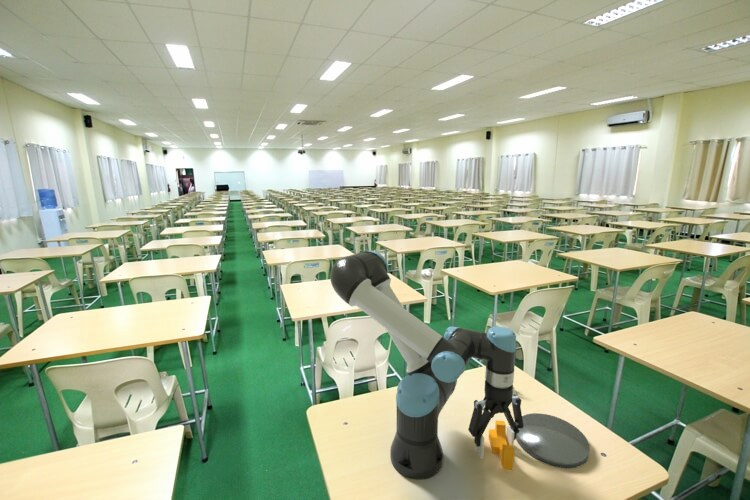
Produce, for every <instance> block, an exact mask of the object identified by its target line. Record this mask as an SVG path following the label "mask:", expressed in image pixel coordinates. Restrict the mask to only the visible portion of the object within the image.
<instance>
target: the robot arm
mask: <svg viewBox="0 0 750 500" xmlns="http://www.w3.org/2000/svg"><path fill="white" fill-rule="evenodd" d="M388 269H389V264H388V261H387V260H386V258H385V257H384V256H383V255H382V254H381V253H380V252H377V251H374V250H363V251H359V252H357V253H354V254H351V255H347V256H344V257H340V258H339V259H338V260H336V262H335V263H334V265H333V266H332V267H331V271H330V277H329V278H330V282H331V286H332V289H333V290H334V291H335V293H336V295H338V296H339V297H340V298H341V300H342V301H344V302H345V303H346V304H348V305H349V306H350V307H357V308H358V309H360V310H361V311H362V312H364V313H365V314H366V315H367V316H368V317H370V318H372V319H373V320H374V321H376V322H377V323H378V324H379V325H381V326H382V327H384V328H385V330H386V332H387V333H388V335H389V336H390V338H391V340H392V341H393V343H394V345H395V347H396V348H397V350H398V351H399V353H400V355H401V356H402V358H403V359H404V361H405V363H406V364H407V365H406V374H407V375H406V376H404V377H403V378H402V379H401V380H400V382H398V384H397V389H396V394H395V402H396V432H395V435H394V437H393V440H392V443H391V446H390V456H389V457H390V462H391V465H392V467H393V468H394V469H395V470H396V471H397V472H398V473H399V474H401V475H403V476H404V477H407V478H410V479H415V480H425V479H426V480H427V479H428V478H432V477H434V476H435V475H436V474H438V473H439V472H440V471H441V470H442V468H443V464H444V451H443V447H442V444H441V442H440V439H439V434H438V431H439V428H438V427H439V415H440V413H441V412H442V410H443V408H444V407H445V406H446V404H447V402H448V400H449V399H450V397H451V396H452V395H453V394H454V392H455V390H456V386H457V383H458V379H459V378H460V377H461V375H463V373H465V369H466V368H467V366H468V364H469V362H470V361H471V360H472V358H474V359H478V360H483V361H485V362H486V363H485V373H484V374H485V375H484V379H485V380H484V398H483V399H482V400H480V401H479V400H478V399H475V400H473V411H472V415H471V419H470V423H469V425H468V429H467V430H468V432H469V433H470V434H471V436H472V437H474V439H473V442H474V444H475V451H476V454H477V455H478V456H479V458H480V459H482V458H484V448H485V447H484V445H485V437H484V435H483V434H484V432H485V431H486V429H487V427H488V425H489V423H490V421H491V419H493V418H494V417H495V415H497V414H503V415H504V417H505V419H506V421H507V423H508V426H507V425H506V440H507V445H512V446H513V447H514V446H515V445H514V443H515V440H516V433H519V428H521V429H522V428H523V420H522V416H523V415H522V414H523V413H522V408H521V404H522V399H521V398H520V396H518V395H517V393H516V394H514V395H513V387H514V381H515V380H514V379H515V378H514V377H515V376H514V375H515V365H516V364H515V363H516V356H517V355H516V353H517V335H516V333H515V331H513V330H512V329H510V328H508V327H504V326H491V327H489V328H488V330H487V332H482V331H478V330H472V329H468V328H463V327H461V326H459V327H457V326H449V327H447V328H446V329H445V332H444V335H443V336H442V335H441V334H440V333H438V332H437V331H435V330H434V329H432V328H431V326H429V325H427V324H426V323H424V322H423V321H422V320H420V318H418V317H416V316H415V315H414V314H412V313H410V311H408V310H407V309H406V308H404V307H403V305H402V303H401V302H400V299H399V298H398V297H397V295H396V293H395V292H394V291H393V289H392V287H391V281H392V278H391V277H390V275H389V274H388V273H389V270H388ZM340 298H339V299H340ZM512 395H513V396H512ZM510 405H511V406H512V407H511V408H512V413H513V415H512V413H511V410H510Z"/></svg>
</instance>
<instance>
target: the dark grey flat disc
mask: <svg viewBox="0 0 750 500" xmlns="http://www.w3.org/2000/svg"><path fill="white" fill-rule="evenodd" d="M522 420H523V428H522V429H521V428H519V433H516V439H515V440H516V442H517V444H518V445H519V447H520V448H521V449H522V450H523V451H524V452H525V453H526V454H527V455H529V456H530V457H531V458H533V459H535V460H537V461H539V462H541V463H543V464H545V465H548V466H551V467H553V468H559V469H560V468H561V469H575V468H579V467H581V466H583V465H584V464H586V462H587V461H588V459H589V453H590V444H589V443H590V442H589V441H588V439H587V437H586V435H585V434H584V433H583V432H582V431H581V430H580V429H579V428H577V427H576V426H575V425H573V424H572V423H570V422H568V421H567V420H565V419H562V418H560V417H558V416H554V415H550V414H546V413H545V414H544V413H535V412H534V413H527V414H524V415H522Z"/></svg>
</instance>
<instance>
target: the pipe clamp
mask: <svg viewBox="0 0 750 500" xmlns="http://www.w3.org/2000/svg"><path fill="white" fill-rule="evenodd" d="M506 431H507V425H506V423H505V420H495V422H494V429H492V428H489V430H488V442H489V446H490V449H491V453H492V454H493V455H498V457H499V461H500V465H501V467H502V470H503V471H512V472H513V471H514V470H513V469H514V457H515V449H514V446H512V445H507V440H506Z"/></svg>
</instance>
